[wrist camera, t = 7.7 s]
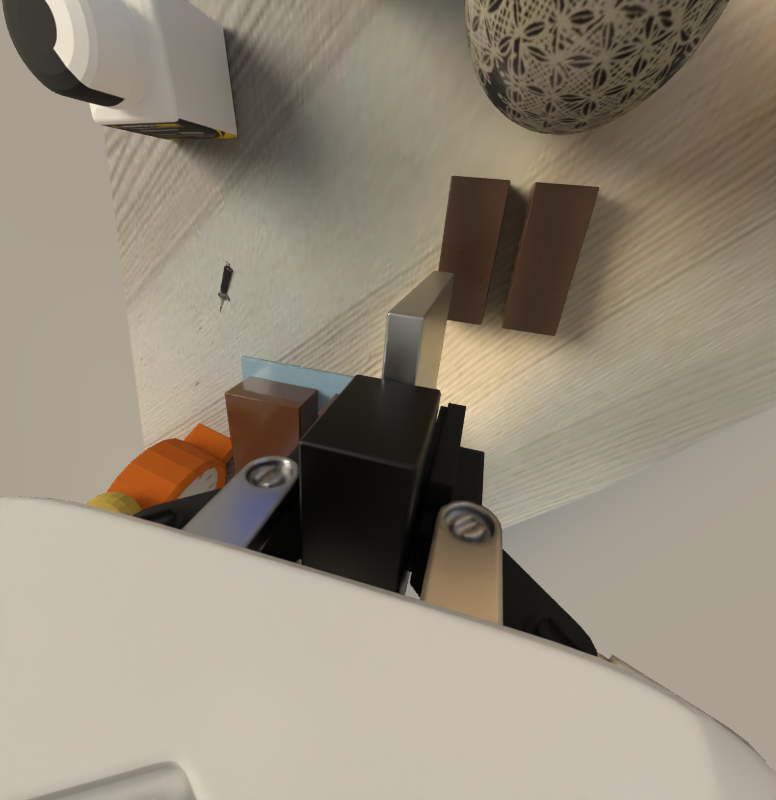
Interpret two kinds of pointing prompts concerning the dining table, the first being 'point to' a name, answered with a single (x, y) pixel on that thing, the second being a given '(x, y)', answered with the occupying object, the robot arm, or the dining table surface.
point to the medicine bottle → (131, 62)
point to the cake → (276, 407)
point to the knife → (225, 283)
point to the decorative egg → (581, 55)
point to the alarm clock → (170, 472)
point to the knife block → (536, 256)
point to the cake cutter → (376, 451)
